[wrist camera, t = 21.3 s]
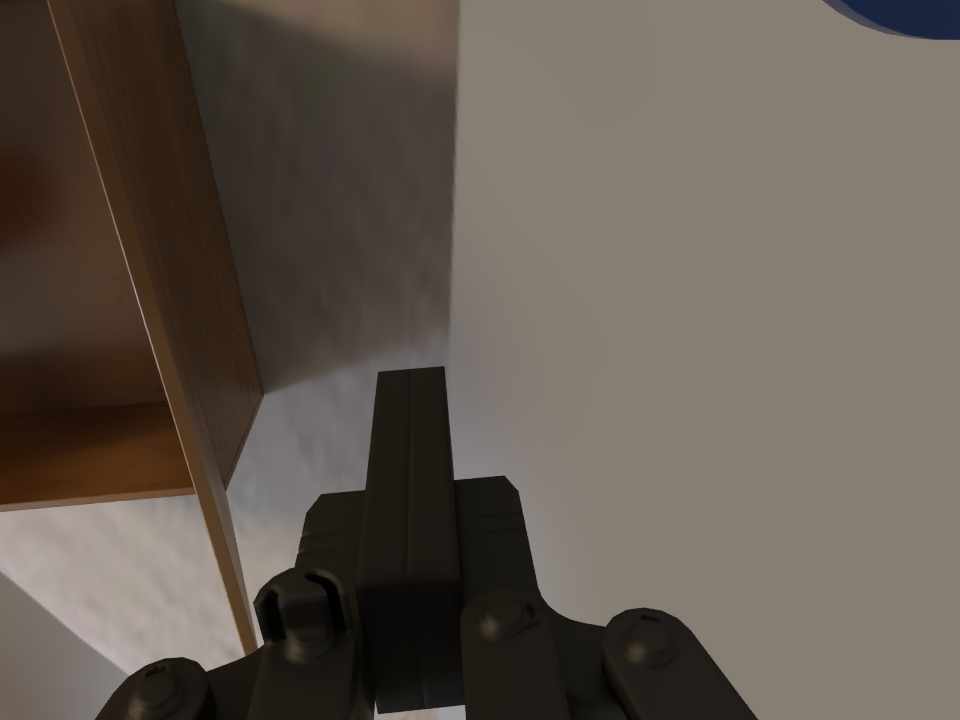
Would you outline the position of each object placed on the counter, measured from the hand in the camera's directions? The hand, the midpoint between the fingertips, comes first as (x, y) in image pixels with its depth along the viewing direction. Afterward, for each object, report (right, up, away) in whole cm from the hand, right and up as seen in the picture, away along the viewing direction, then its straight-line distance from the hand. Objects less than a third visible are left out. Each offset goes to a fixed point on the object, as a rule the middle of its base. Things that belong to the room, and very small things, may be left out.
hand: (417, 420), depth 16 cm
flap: (-8, +2, +5) cm, 10 cm away
